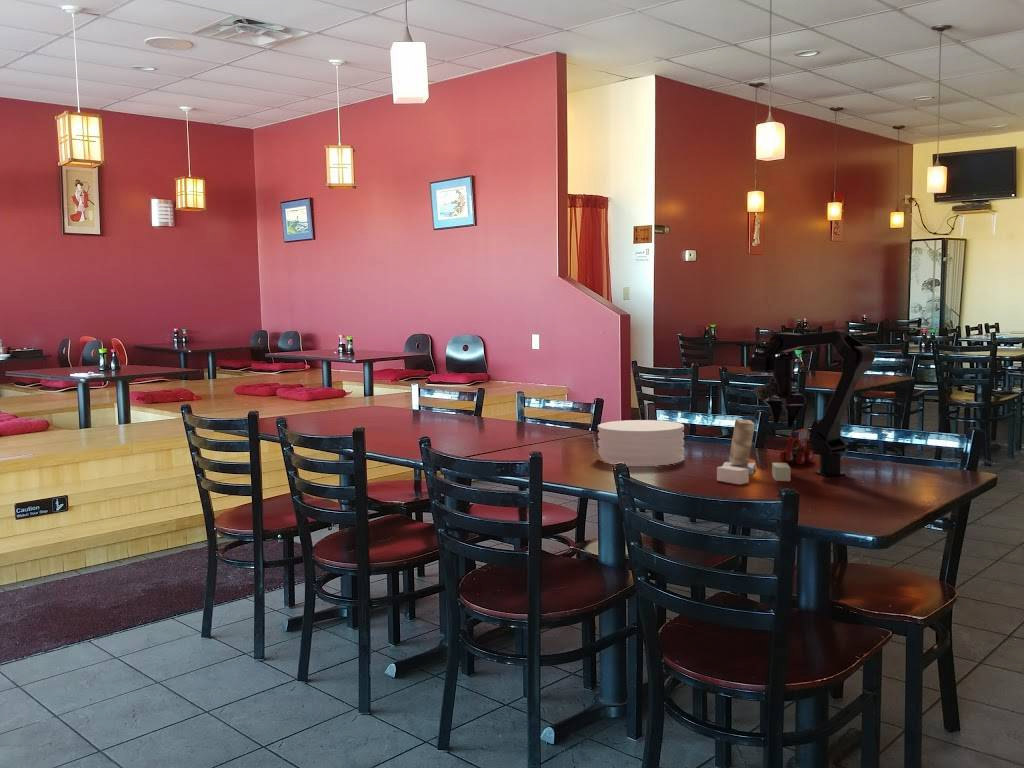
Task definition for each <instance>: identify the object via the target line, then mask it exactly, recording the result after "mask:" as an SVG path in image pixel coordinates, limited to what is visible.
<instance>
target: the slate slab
mask: <svg viewBox="0 0 1024 768" xmlns="http://www.w3.org/2000/svg"><path fill="white" fill-rule="evenodd" d="M722 466H732V467H738V468H744V469H749V475H754V472H755V470H756V462H748V466H743V465H733V464H732V463H731V462H730V461H724V463H723V464H722Z"/></svg>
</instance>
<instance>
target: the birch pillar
mask: <svg viewBox="0 0 1024 768" xmlns="http://www.w3.org/2000/svg"><path fill="white" fill-rule="evenodd" d="M755 427H756V424H755V422H753V421H752V420H751V419H741V418H735V421H734V427H733V433H732V439H731V444H730V451H729V456H728V462H731V463H732V464H733V465H743V466H748V463H749V460H750V454H751V448H752V443H753V438H754V437H753V436H754V434H755V433H754V431H755Z"/></svg>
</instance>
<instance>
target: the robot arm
mask: <svg viewBox="0 0 1024 768" xmlns="http://www.w3.org/2000/svg"><path fill="white" fill-rule="evenodd" d="M823 345H832V346H833V347H834V348H835V351H836V352H837V354H838V355H839V356H840V357H841V358H842V360H841V376H840V378H839V380H838V382H837V385H836V388H835V389H834V392H833V394H832V396H831V398H830V401H829V403H828V406H827V408H826V410H825V413H824V416H823V417H822V418H821V419H820V418H819V419H815V420H813V421H812V425H811V428H810V429H809V430H808V433H809V434H808V440H809V442H810V444H811V445H812V448H813V452H814V454H815V455H818V456H819V467H818V468H819V469H818V470H814V473H815V474H818V475H820V474H821V475H820V476H823V475H824V477H829V476H828V475H837V476H844V475H843V474H845V475H846V473H845V472H843V471H841V462H842V461H841V456H842V455H841V453H845V452H846V451H847V447H848V445H847V444H846V443H845V442H844V440H843V439H842V438H841V437H840V436H841V433H842V429H841V421H842V419H843V416H844V414H845V412H846V409H847V408H848V405H849V403H850V401H851V399H852V396H853V394H854V391H855V389H856V387H857V385H858V382H859V380H860V379H861V378H862V376H863V375H865V373H867V372H868V370H869V369H870V368H871V366H872V364H873V363H874V361H875V358H876V355H875V354H874V350H873V349H872V348H871V347H869V346H867V345H864V344H863V342H861V341H860V340H858V339H856V338H855V337H853V336H852V335H850V334H849V333H848V332H847V331H845V330H844V329H834V330H832V331H822V332H814V333H812V332H811V333H805V334H803V333H802V334H801V333H795V332H779V333H778V332H777V333H773V334H772V335H771V337H770V340H769V342H768V344H767V345H766V347H765V349H764V350H763V351H762V350H755V351H753V355H752V356H751V358H750V360H749V363H748V367H749V369H750V371H751V372H752V373H753V374H772V377H771V376H770V377H769V380H768V381H769V382H767V383H764V384H762V385H759V386H757V387H754V388H753V391H754V394H755V398H756V399H757V400H758V399H760V400H762V402H763V403H764V404H766V405H767V406H768V408H769V411H770V414H771V418H772V421H773V424H778V423H779V421H780V416H781V414H782V411H783V409H784V410H785V420H786V427H787V428H792V427H793V425H794V423H795V420H796V418H797V416H798V415H799V413H800V411H801V410H802V408H803V407H804V405H805V404H807V397H806V396H805V395H804V394H801V393H796V391H795V390H793V385H794V384H793V382H796V377H794V376H793V373H794V372H793V371H794V370H793V368H794V367H793V366H794V365H793V363H794V362H793V360H799V359H800V356H798V355H797V354H796V352H795V350H799V349H801V348H803V347H812V346H814V347H815V346H823ZM787 352H788V353H787ZM776 355H777V356H776Z"/></svg>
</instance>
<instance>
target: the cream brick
mask: <svg viewBox="0 0 1024 768" xmlns="http://www.w3.org/2000/svg"><path fill="white" fill-rule="evenodd" d="M749 475H750V474H749V469H744V468H738V467H732V466H723V465H722V466H717V467H716V481H718V482H723V483H729V484H734V485H735V484H736V485H743V484H749V482H750V481H749V479H750V477H749Z"/></svg>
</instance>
